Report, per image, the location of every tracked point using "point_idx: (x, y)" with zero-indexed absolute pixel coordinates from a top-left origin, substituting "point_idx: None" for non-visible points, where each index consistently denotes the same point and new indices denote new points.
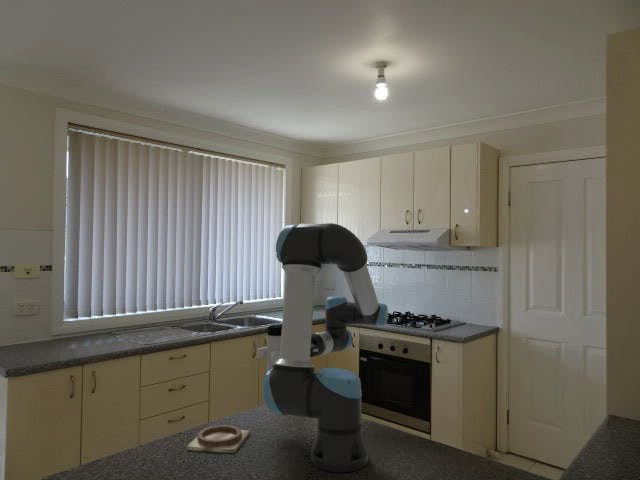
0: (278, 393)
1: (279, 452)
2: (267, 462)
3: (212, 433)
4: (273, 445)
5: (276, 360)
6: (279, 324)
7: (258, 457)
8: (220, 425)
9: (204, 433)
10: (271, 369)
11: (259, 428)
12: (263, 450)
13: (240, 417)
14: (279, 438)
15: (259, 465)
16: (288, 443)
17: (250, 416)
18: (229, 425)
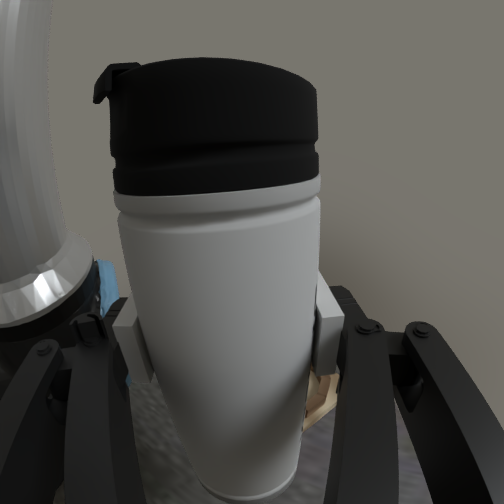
0: (69, 296)
1: (136, 433)
2: (129, 396)
3: (315, 384)
4: (172, 449)
5: (73, 232)
6: (270, 72)
7: (156, 400)
8: (324, 393)
9: (312, 367)
10: (102, 264)
11: (294, 486)
12: (171, 422)
13: (408, 473)
14: (191, 483)
15: (134, 384)
16: (150, 475)
17: (402, 498)
18: (311, 407)
